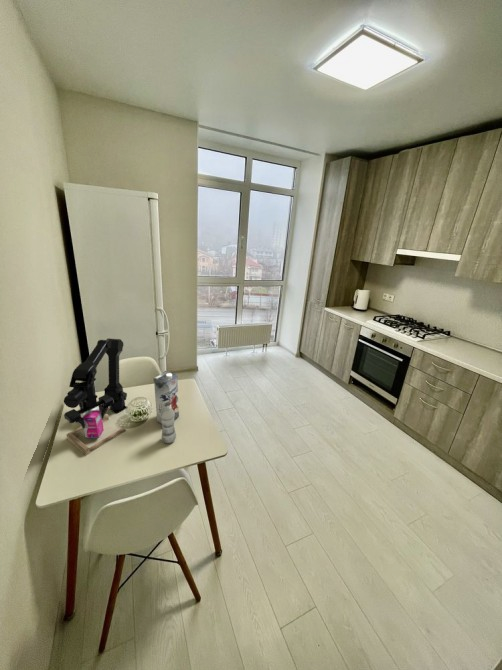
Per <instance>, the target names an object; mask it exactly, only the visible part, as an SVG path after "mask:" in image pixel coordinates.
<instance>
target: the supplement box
mask: <svg viewBox="0 0 502 670" xmlns="http://www.w3.org/2000/svg"><path fill="white" fill-rule="evenodd" d="M82 418H83V419H84V424H85V428H84V432H85V433H84V436H85V439H99V438H100V437H101V435H102V433H103V432H104V429H105V428H104V423H103V422H102V416H101V410H90V411H87V412H86V413H85V415H84V416H83V417H82Z"/></svg>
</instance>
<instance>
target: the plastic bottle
mask: <svg viewBox="0 0 502 670" xmlns="http://www.w3.org/2000/svg"><path fill="white" fill-rule="evenodd" d="M162 409H163V410H162V411H161V413H160V419H161V423H160V424H161V435H160V436H161V441H162V442H163V443H164V444H172V443H174V442H175V440H176V439H177V432H176V430H175V429H176V428H175V420H174V417H175V412H174V410H173V409H172V408H171V403H170V402H165V403H163V407H162Z"/></svg>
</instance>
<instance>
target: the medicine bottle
mask: <svg viewBox="0 0 502 670" xmlns="http://www.w3.org/2000/svg"><path fill="white" fill-rule="evenodd" d="M80 409H82V407H79V408H78V409H77V410H76V411H78V410H80ZM92 410H99V406H97V407H96V408H94V409H92ZM85 413H86V412H85ZM85 413H83V414H81V417H83V416H84V415H85Z"/></svg>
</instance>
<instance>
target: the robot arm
mask: <svg viewBox="0 0 502 670" xmlns="http://www.w3.org/2000/svg"><path fill="white" fill-rule="evenodd" d="M123 349H124V341H122V338H121V339H120V338H106V339H99V340H98V341H97V343H96V345H95V346H94V348H93V350H92V351H91V353H90V354H89V355H88V357H87V358H86V360H84V361H83V362H82V363H80V364H78V365H77V366H76V368H75V369H74V370H73V371H72V375H71V378H70V382H69V388H72V389H71V390H69V391H67V393H66V394H67V395H66V396H65V397H64V399H63V403H64V405H65V406H66V407H68V408H71V409H70V410H68V411H66V412H65V413H64V415H63V417H64V419H65V420H66V421H67V422H69V423H70V424H74V423H78V424H79V426H80V427H81V426H82V428H83V429H84V428H85V424H84V419H83V418H82V417H81V414H83V413H85V412H87V411H90V410H92V409H94V408H96V407H99V410H101V416H102V419H103V417H104V415H105V414H107V413H106V412H107V411H108V408H109V410H110V411H111V412H112V413H115V414H118V413H120V412H122V411H124V410H127V408H126V407H127V405H126V400H127V397H128V393H127V392H125V391H124V387H123V385H122V384H121V383H120V355H121V353H122V352H123ZM105 355H107V360H108V367H107V368H108V384H107V386H106V387H105V388H104V389H103V390H104V395H102V396H99V397H98V395H97V394H96V389H95V383H94V382H95V381H96V380H97V378H95V377H96V375H97V373H98V369H97V367H98V365H99V364H100V362H101V361H102V358H103V357H104V356H105ZM97 399H98V400H97ZM78 406H79V409H80V407H82V409H80V410H79V409H77V410H78V411H77V410H76V409H75V408H77V407H78Z"/></svg>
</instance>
